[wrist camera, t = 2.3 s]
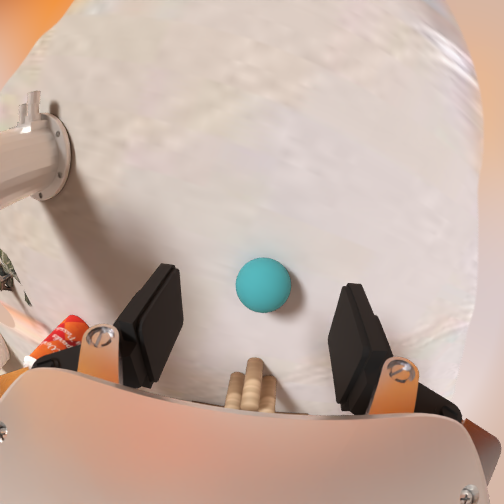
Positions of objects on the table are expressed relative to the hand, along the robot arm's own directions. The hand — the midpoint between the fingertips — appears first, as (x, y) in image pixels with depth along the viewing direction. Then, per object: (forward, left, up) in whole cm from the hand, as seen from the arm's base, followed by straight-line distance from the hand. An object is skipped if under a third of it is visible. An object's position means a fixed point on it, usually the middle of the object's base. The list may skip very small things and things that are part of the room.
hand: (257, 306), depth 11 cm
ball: (+9, 0, -17) cm, 19 cm away
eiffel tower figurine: (+18, -52, -21) cm, 59 cm away
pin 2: (+29, +2, -20) cm, 36 cm away
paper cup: (+25, -32, -20) cm, 45 cm away
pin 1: (+29, -3, -20) cm, 36 cm away
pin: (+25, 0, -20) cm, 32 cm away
